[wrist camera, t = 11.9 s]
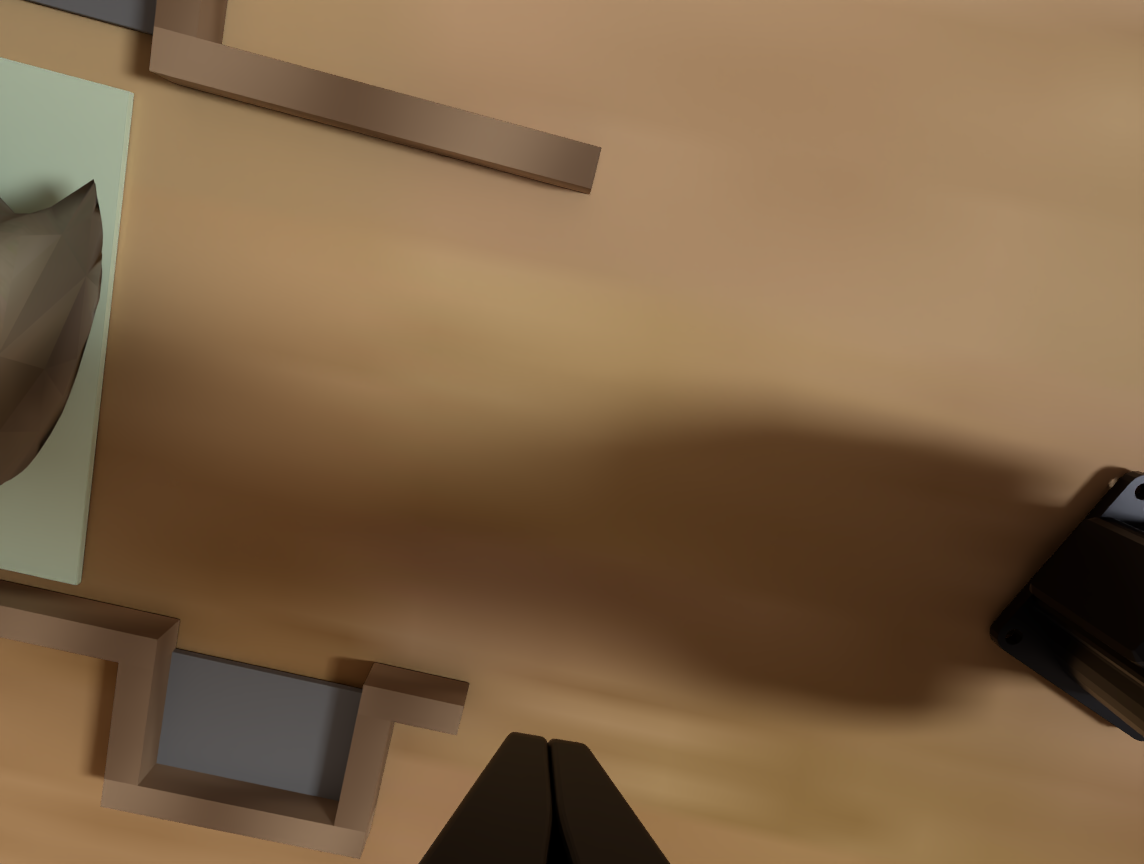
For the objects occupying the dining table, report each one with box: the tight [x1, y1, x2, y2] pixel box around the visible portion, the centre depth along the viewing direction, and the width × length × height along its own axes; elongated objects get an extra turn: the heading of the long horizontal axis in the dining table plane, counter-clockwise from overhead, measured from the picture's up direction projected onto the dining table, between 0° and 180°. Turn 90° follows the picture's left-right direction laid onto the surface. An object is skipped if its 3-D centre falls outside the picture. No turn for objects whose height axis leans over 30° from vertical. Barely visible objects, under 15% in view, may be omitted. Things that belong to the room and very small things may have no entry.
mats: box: [26, 0, 363, 801], centre depth 20 cm, size 7×28×1 cm, turn 7°
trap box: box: [0, 0, 601, 859], centre depth 19 cm, size 22×27×1 cm
